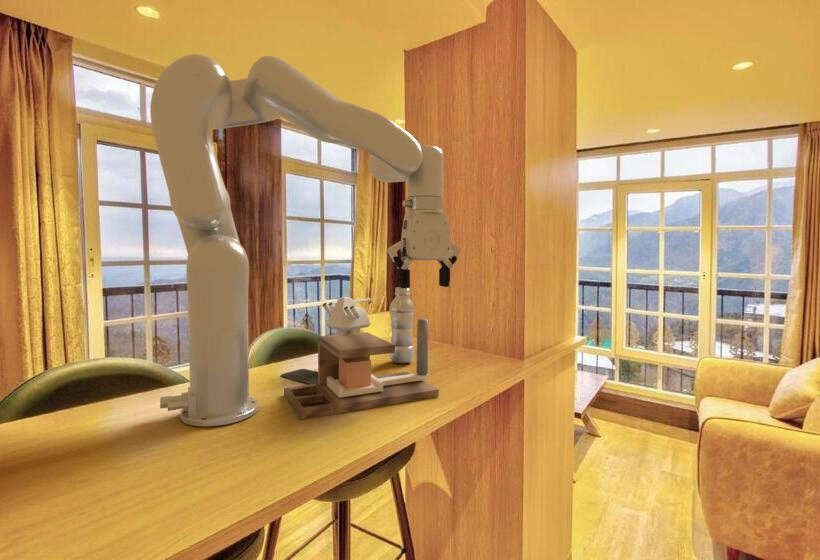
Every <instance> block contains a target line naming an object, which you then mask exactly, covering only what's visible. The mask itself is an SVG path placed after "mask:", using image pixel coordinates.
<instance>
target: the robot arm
mask: <svg viewBox="0 0 820 560" xmlns="http://www.w3.org/2000/svg"><path fill="white" fill-rule="evenodd" d="M149 112H150V123H151V129H152V133H153V138H154V141H155V145H156V149H157V153H158V156H159V161H160V164H161V165H160V166H161V168H162V172H163V176H164V179H165V182H166V183H165V184H166V187H167V190H168V191H167V192H168V195H169V202H170V207H171V210H172V212H173V213H174V215H175V216H176V219H177V223H178V225H179V229H180V233H181V235H182V239H183V242H184V245H185V249H186V252H187V259H186V287H187V309H188V310H187V312H188V313H187V314H188V316H187V317H188V343H189V344H188V347H189V348H188V350H189V351H188V353H189V355H188V356H189V360H188V361H189V386H188V387H187V392H186V391H185V392H181V394H178V395H168V396H160V397H159V407H160V410H161V409H167V411H168V412H169V411H176V410H180V413H179V416H180V417H179V419H180V421H181V422H183V424H186V425H189V426H193V427H217V426H219V427H220V426H224V425H225V426H226V425H230V424H235V423H238V422H241V421H244V420H246V419H248V418H251V416H254V415H255V414H256V412H257V411H258V409H259V402H258V401H257V399H255V398H254V397H251V396H249V395H250V394H249V391H250V389H249V384H250V383H249V376H250V375H249V283H250V279H249V278H250V264H249V258H248V255H247V252H246V250H245V248H244V247H243V246H242V244H241V242H240V238H239V236H238V231H237V229H236V228H237V227H236V224H235V220H234V217H233V213H232V209H231V198H230V195H229V192H228V190H227V188H226V185H225V183H224V180H223V177H222V173H221V169H220V167H219V163H218V159H217V155H216V151H215V145H214V143H213V142H214V141H213V138H212V134H211V133H212V132H211V130H222V129H229V128H237V127H243V126H251V125H257V124H261V123H267V122H272V121H275V120H277V119H280V118H283V119H285V120H286V121H288V122H290V123H291V124H292V125H294V126H296V127H297V128H299V129H300V130H302V131H304V132H305V133H306V134H308V135H310V136H311V137H313V138H314V139H316V140H318V141H320V142H323V143H328V144H338V145H339V144H341V145H346V146H351V147H355V148H358V149H360V150H362V151H365V152H366V153H368V154H371V155H370V157H369V159H368V162H367V163H368V170H369V172H370V173H371V176H372V177H373V178H375V179H376V180H377V181H379V182H383V183H399V182H400V183H402V182H406V183H407V198H406V199H405V200H402V202H401V205H402V207H405V208H406V211H407V212H405V213H404V217H403V223H402V228H401V239H400V241H398V242H396V243H395V244H393V245H391V246H389V247H388V248H387V250H386V252H387V253H388V255H389V257H390V258H391V259H390V260H391V262H392V263H393V264H394V265H395V266H396V269H398V283H399V285H400V286H399V287H401V288H405V289H410V288H411V271H410V269H408V268H409V266H410V265H411V264H412V263H413V261H437V262H438V264H439V265H440V266H441V267H440V268H439V269H438V275H439V276H438V285H439V286H440V287H443V288H449V287H450V282H451V270H452V268H453V265H454V264H455V263H456V262H457V260H458V257H459V255H460V253H461V248H459V247H458V246H456V245H455V244H454V243H452V242H451V233H450V232H451V231H450V225H449V219H448V215H447V213H444V153H443V151H442V150H443V149H441V148H439V147H437V146H434V145H420V143H419V142H418V141H417V140H416V139H415V137H413V135H412V134H411V133H409V132H408V131H407V130H405V129H403V128H402V127H401V126H400V125H398V124H396V123H395V122H394V121H392V120H391V119H389V118H388V117H386V116H384V115H382V114H379V113H378V112H375V111H372V110H370V109H367V108H363V107H361V106H359V105H356V104H353V103H350V102H349V103H348V102H346V101H343V100H342V99H340V98H338V97H337V96H336V95H334V94H333V93H331V92H330V91H329V90H327V89H325V88H324V87H323V86H321V85H320V84H318V83H317V82H315V81H314V80H312V79H311V78H310V77H308V76H307V75H305V74H304V73H302V72H301V71H299V70H298V69H296V68H295V67H294V66H292V65H290V64H289V63H288V62H286V61H284V60H283V59H282V58H279V57H277V56H273V55H263V56H261V57H259V58H258V59H256V60H255V61H254V62H253V63H252V65H251V66H250V69H249V71H248V74H247V78H241V79H235V80H234V79H233V80H232V79H231V80H230V79H229V77H228V75H227V72H226V71H225V70H224V69H223V67H222V66H221V65H220V64H219V63H218V62H217V61H215V60H214V59H213V58H211V57H209V56H206V55H203V54H200V53H199V54H196V53H195V54H189V55H185V56H182V57H179V58H178V59H175V60H174V61H173V62H171V63H170V64H169V65H168V66H167V67H165V69H164V70H163V71H162V72H161V74H160V75H159V77H158V79H157V80H156V83H155V84H154V87H153V91H152V94H151V100H150V111H149ZM399 250H400V254H401V258H400V257H399V255H398V251H399Z"/></svg>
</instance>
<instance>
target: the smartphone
mask: <svg viewBox="0 0 820 560" xmlns="http://www.w3.org/2000/svg"><path fill="white" fill-rule="evenodd" d="M279 377H280V378H283V379H288V380H289V381H290V380H291V381H294V382H297V383H301V384H303V385H310V384H318V371H315V370H311V369H307V368H306V369H305V368H298V369H296V370H295V369H294V370H292V371H288V372H284V373H281V374H280V376H279Z"/></svg>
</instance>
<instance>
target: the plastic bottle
mask: <svg viewBox="0 0 820 560" xmlns="http://www.w3.org/2000/svg"><path fill="white" fill-rule="evenodd" d="M394 291H395V292H394V295H395V297H394V299H392V301H391V303H390V305H389V315H390V321H391V335H390V336H391V338H390V343H391V344H394V345H395V353H389V358H390V360H391V362H393V363H396V364H409V363H411V362H412V361H413V359H414V358H415V348H414V345H413V344H414V343H413V341H414V340H413V322H414V314H415V306H414V303H413V301H412V300H411V298H410V295H411V291H410V288H409V289H405V288H401V287H400V286H398V287H397V286H396V287H395V290H394Z"/></svg>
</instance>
